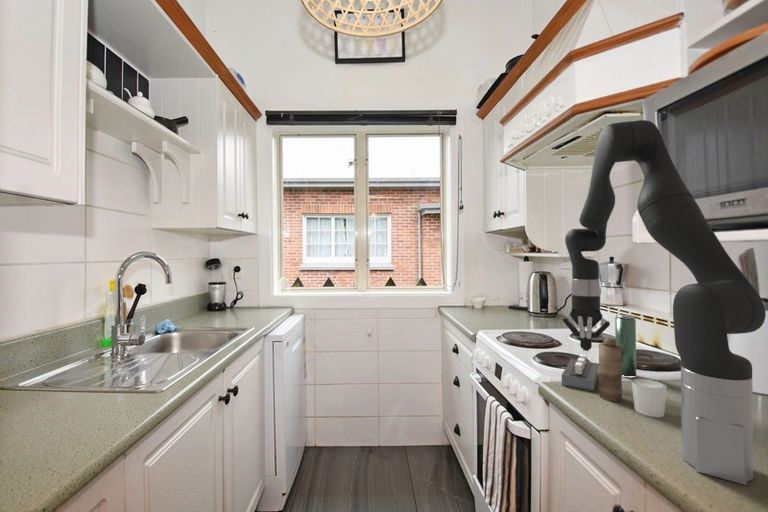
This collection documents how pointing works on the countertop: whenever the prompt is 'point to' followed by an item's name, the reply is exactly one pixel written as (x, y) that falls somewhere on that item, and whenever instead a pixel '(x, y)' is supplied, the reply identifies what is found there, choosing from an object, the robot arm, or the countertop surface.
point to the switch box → (581, 376)
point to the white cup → (649, 397)
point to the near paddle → (578, 368)
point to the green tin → (626, 342)
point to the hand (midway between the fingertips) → (586, 350)
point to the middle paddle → (581, 361)
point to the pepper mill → (610, 371)
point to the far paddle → (584, 357)
